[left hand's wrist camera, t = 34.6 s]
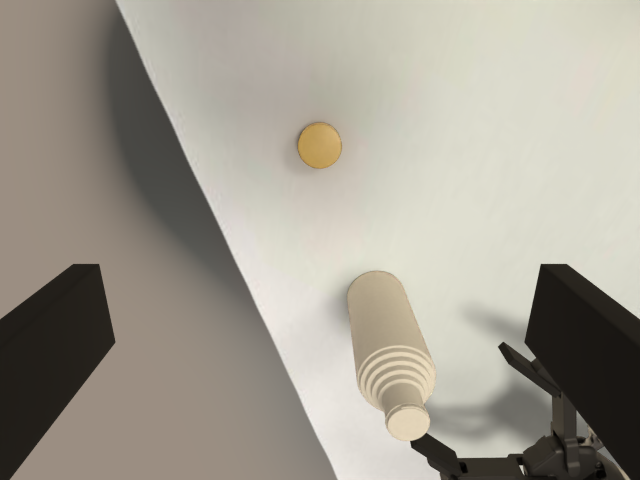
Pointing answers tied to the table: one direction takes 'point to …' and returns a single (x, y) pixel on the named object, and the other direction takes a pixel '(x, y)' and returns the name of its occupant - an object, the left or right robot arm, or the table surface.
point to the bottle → (390, 354)
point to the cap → (319, 145)
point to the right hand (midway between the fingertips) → (456, 395)
